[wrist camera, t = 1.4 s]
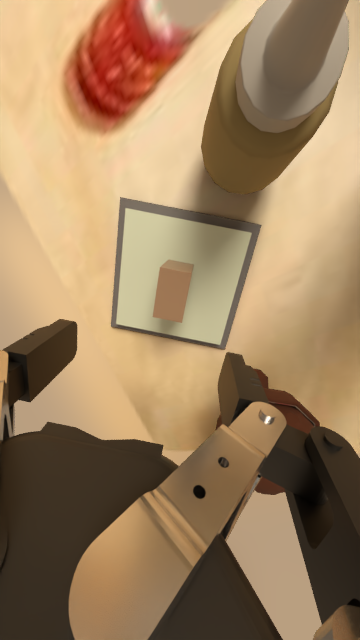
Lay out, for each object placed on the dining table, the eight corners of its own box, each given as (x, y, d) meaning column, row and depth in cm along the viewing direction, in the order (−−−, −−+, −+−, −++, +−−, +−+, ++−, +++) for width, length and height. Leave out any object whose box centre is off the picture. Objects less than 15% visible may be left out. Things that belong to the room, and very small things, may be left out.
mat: (121, 197, 26) (120, 197, 25) (260, 225, 26) (261, 224, 25) (112, 325, 32) (110, 326, 31) (224, 348, 31) (224, 349, 31)
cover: (128, 208, 26) (103, 201, 19) (250, 232, 26) (267, 233, 19) (118, 321, 31) (96, 345, 24) (219, 341, 31) (224, 371, 24)
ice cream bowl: (218, 416, 36) (229, 533, 22) (208, 355, 32) (213, 450, 18) (288, 410, 34) (347, 532, 21) (286, 346, 31) (357, 441, 17)
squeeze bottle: (277, 196, 24) (444, 122, 8) (201, 201, 25) (204, 145, 8) (285, 100, 21) (584, -355, 5) (200, 109, 22) (199, -253, 6)
